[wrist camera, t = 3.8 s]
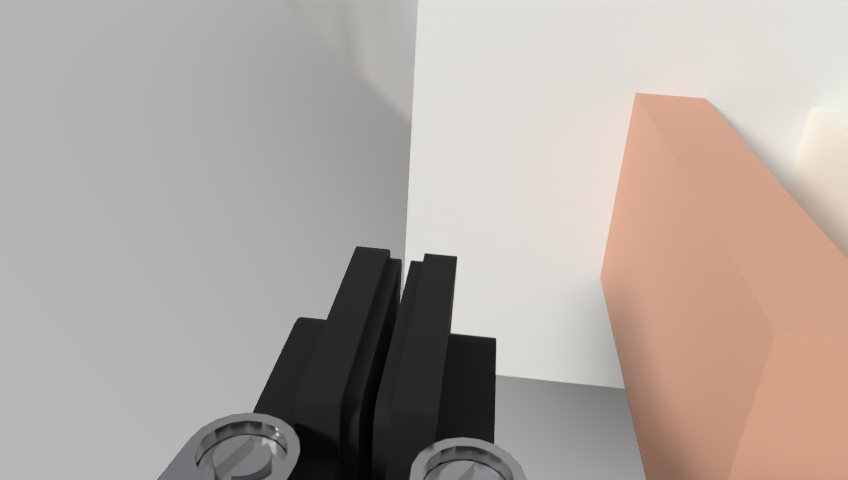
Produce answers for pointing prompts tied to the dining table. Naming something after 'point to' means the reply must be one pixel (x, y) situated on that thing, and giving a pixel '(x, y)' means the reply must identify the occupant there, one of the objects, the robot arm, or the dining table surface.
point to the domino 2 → (824, 173)
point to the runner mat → (583, 144)
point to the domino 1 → (723, 307)
